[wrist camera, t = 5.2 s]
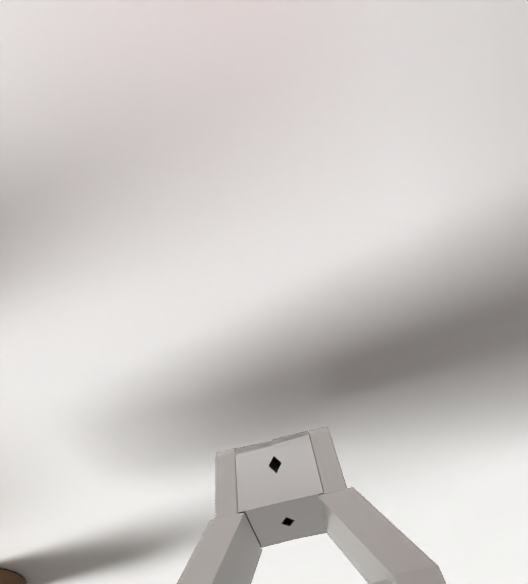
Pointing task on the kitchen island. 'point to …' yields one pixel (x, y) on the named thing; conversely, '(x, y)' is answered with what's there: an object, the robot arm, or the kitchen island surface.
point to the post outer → (10, 577)
